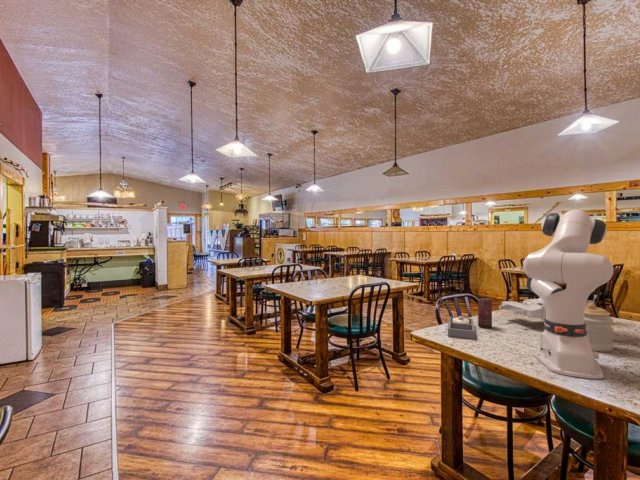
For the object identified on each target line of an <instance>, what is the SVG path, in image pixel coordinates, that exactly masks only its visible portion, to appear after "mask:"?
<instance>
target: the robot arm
mask: <svg viewBox="0 0 640 480" xmlns="http://www.w3.org/2000/svg"><path fill="white" fill-rule="evenodd" d="M540 227H541V233H542V234H543V235H545V236H548V237H550V238H551V237H552V240H551V241H550V242H549V243H548V244H547V245H546V246H544V247H543V248H541V249H539V250H537V251H533V252H530V253H529V254H527V255H526V257H525V258H524V259H523V262H522V268H523V272H524V273H525V275H526V276H527V277H528V278H527V280H526V288H527V289H528V291H531V292H532V293H533V294H535V295H537V296H538V298H532V299H531V298H530V299H529V298H528V299H524V300H523V301H522V302H518V301H511V300H510V301H509V300H507V301H505V300H504V301H501V305H499V307H498V309H499V310H506V311H508V312H509V311H510V312H511V313H512V312H513V314H515V315H522V316H525V317H527V318H533V319H541V320H542V319H543V320H544V322H543V325H544V330H543V331H542V332H541V333H539V339H538V340H539V341H538V351H535V352H533V357H535V359H537V360H538V361H539V362H540V363H542V364H543V366H545V367H546V368H547V369H548V370H550V371H551V372H553V373H556V374H560V375H563V376H564V375H565V376H569V377H576V378H582V379H583V378H584V379H595V380H597V379H599V380H600V379H604V376H605V375H604V373H603V370H602V368H601V366H600V364H599V361H598V360H599V359H600V353H599V351H592V349H594V345H590V342H589V338H588V337H587V336H586V335H587V328H586V324H585V323H584V315H585V305H586V301H587V298H588V297H589V295H590V294H591V293H592V291H594V290H595V291H596V289H597V288H599V287H600V286H602V285H604V284H606V283H608V282H609V281H610V280H611V279H612V277H613V275H614V266H613V263H612V262H611V260H610V259H609V258H608V257H606V256H605V255H601V254H596V253H591V252H587V251H588V250H589V247H590V245H597V244H600V243H601V242H602V241H603V240H604V239H605V237H606V236H607V233H608V232H607V231H608V229H607V223H605V221H603V220H600V219H597V218H595V219H594V218H591V215H590V214H589V213H587V212H586V211H584V210H583V209H571V210H568V211H566V212H565V213H558V212H551V213H548V214H546V216H545V217H543V219H542V220H541V225H540ZM557 283H562V284H563V283H564V284H566V287H565V289H564V288H563V287H561V286H560V285H559V284H557Z"/></svg>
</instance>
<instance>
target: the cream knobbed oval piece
mask: <svg viewBox="0 0 640 480" xmlns="http://www.w3.org/2000/svg"><path fill="white" fill-rule="evenodd" d="M466 318H467V317H464V316H463V315H459V316H458V318H453V319H452V322H453V323H465V324H470V321H469V319H466Z"/></svg>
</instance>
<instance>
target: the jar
mask: <svg viewBox="0 0 640 480" xmlns="http://www.w3.org/2000/svg"><path fill="white" fill-rule="evenodd" d="M610 315H611V312H609V311H607V310H606V309H604V308H603V307H602V308H601V307H597V306H596V304H595V302H594V303H588V305H587V306H585V315H584V323H585V324H586V328H587V335H586V336H587V337H588V338H589V342H590V345H594V349H592V351H594V352H604V353H605V352H607V353H608V352H611V351H613V349H614V343H613V342H614V341H613V339H614V338H613V337H614V335H613V333H614V327H613V325H612V323H613V322H614V319H613V318H612V317H610Z"/></svg>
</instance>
